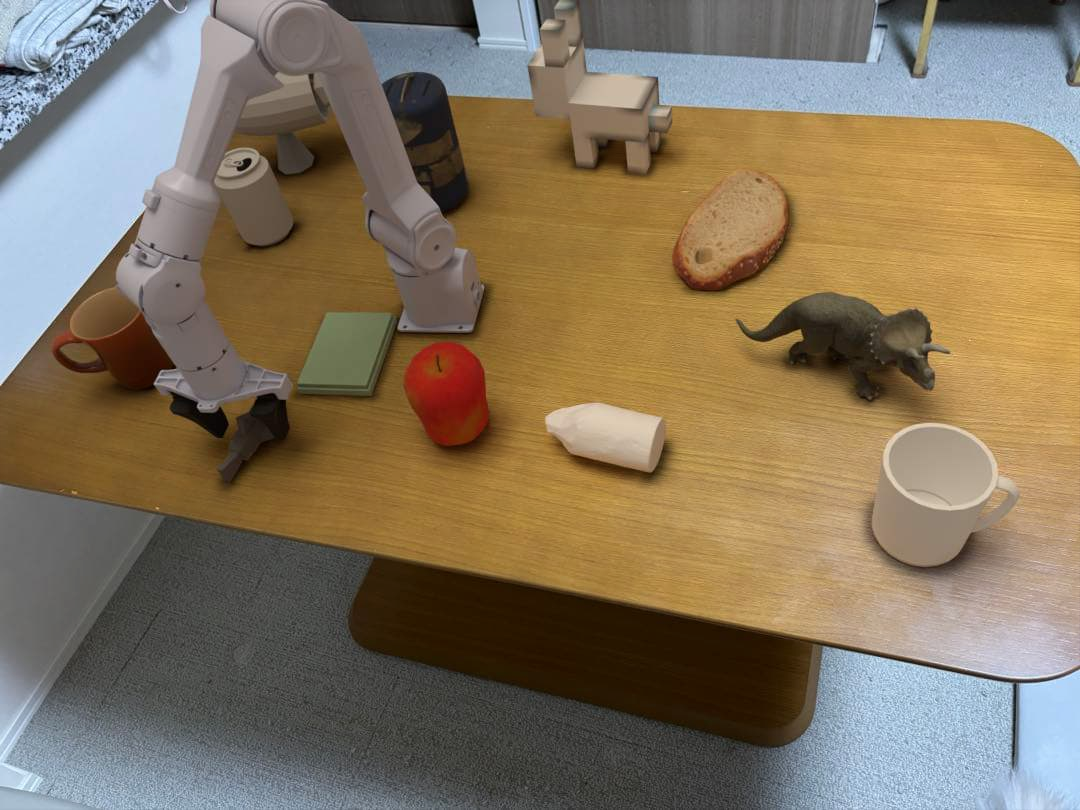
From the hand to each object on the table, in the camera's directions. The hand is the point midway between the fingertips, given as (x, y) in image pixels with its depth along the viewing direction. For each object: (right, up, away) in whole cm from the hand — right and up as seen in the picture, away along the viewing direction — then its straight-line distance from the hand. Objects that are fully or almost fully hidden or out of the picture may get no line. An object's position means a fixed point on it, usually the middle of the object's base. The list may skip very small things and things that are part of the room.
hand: (253, 432), depth 99 cm
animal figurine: (0, -1, +1) cm, 2 cm away
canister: (+18, +32, +25) cm, 44 cm away
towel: (+9, +9, +8) cm, 15 cm away
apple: (+23, +1, -2) cm, 23 cm away
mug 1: (-18, +7, +11) cm, 22 cm away
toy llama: (+42, +38, +26) cm, 62 cm away
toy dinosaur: (+64, +7, -4) cm, 64 cm away
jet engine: (-3, +40, +35) cm, 53 cm away
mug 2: (+68, -9, -17) cm, 70 cm away
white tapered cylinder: (+39, -2, -6) cm, 39 cm away
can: (-6, +27, +26) cm, 38 cm away
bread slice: (+55, +25, +12) cm, 62 cm away
